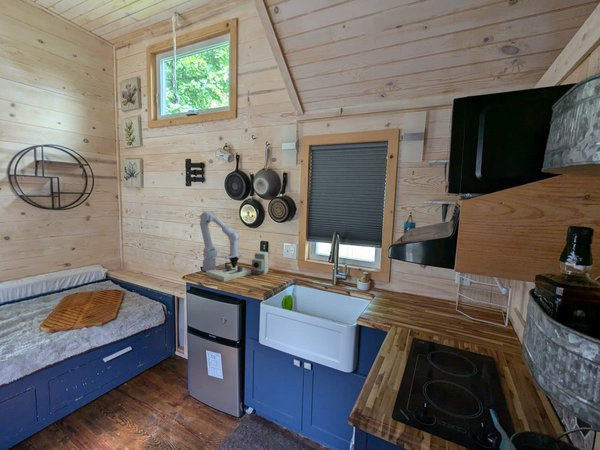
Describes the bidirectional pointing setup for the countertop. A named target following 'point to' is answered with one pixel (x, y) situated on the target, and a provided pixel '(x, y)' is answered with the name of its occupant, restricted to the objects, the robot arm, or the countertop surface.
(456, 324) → the countertop surface
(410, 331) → the countertop surface
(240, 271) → the breaker panel
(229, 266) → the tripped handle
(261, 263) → the circuit breaker
